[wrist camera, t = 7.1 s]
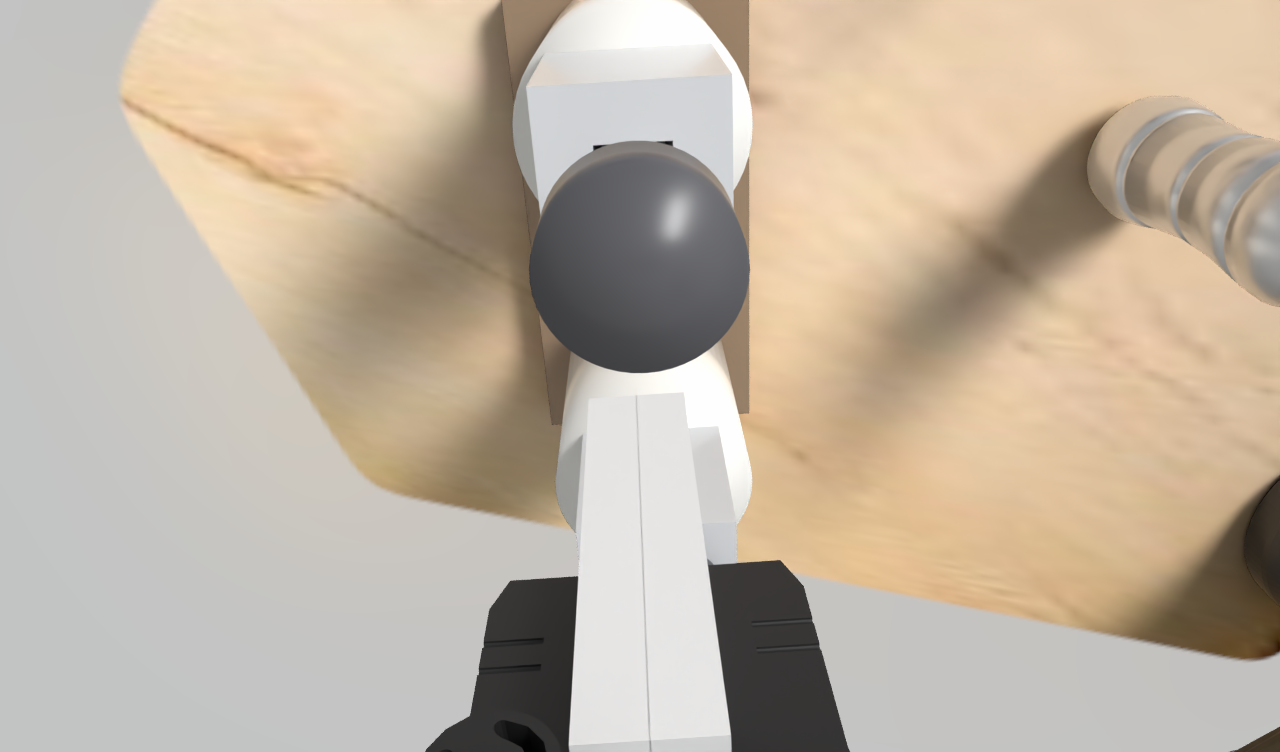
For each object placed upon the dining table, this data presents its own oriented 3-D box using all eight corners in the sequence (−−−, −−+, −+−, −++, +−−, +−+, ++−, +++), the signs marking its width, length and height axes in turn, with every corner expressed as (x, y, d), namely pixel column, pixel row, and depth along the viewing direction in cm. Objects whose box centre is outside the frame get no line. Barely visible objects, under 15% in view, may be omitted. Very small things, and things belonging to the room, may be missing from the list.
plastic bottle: (1068, 217, 51) (1307, 380, 33) (1076, 96, 48) (1344, 204, 30) (1183, 200, 51) (1488, 354, 33) (1199, 77, 48) (1544, 174, 30)
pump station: (745, 404, 56) (810, 665, 37) (555, 415, 56) (519, 682, 37) (743, -31, 45) (838, 12, 25) (504, -16, 45) (414, 39, 25)
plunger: (714, 239, 30) (749, 367, 21) (564, 248, 30) (541, 379, 21) (710, 84, 27) (749, 158, 19) (548, 94, 27) (516, 173, 19)
